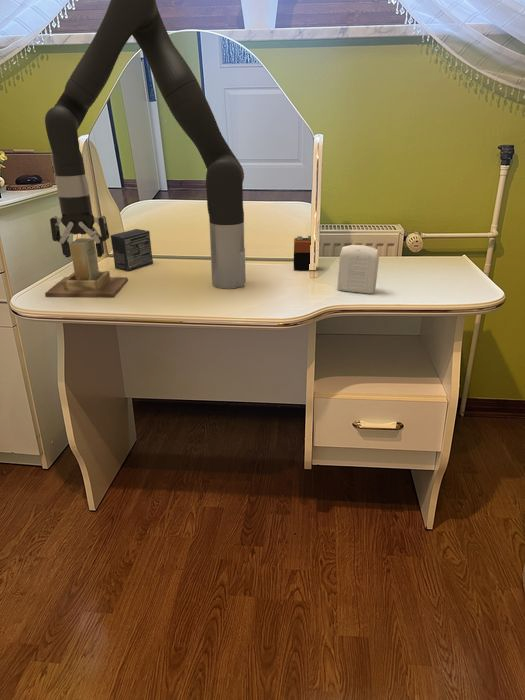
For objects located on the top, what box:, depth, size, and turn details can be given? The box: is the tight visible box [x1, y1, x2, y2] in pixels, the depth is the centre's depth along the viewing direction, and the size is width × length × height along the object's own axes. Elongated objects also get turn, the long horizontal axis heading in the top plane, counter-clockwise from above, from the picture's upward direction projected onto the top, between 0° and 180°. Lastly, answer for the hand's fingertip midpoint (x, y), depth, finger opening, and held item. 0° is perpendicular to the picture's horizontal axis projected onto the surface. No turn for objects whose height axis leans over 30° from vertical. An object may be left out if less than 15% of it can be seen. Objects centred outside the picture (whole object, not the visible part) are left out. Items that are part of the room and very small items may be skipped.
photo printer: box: [336, 244, 380, 294], centre depth 137 cm, size 10×4×12 cm, turn 72°
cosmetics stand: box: [44, 270, 129, 298], centre depth 141 cm, size 18×14×4 cm
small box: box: [110, 228, 154, 272], centre depth 159 cm, size 11×6×10 cm, turn 144°
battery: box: [293, 235, 312, 272], centre depth 156 cm, size 4×7×10 cm, turn 88°
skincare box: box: [69, 237, 100, 281], centre depth 138 cm, size 6×4×12 cm
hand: (84, 256), depth 137 cm, fingers open, 8 cm apart
